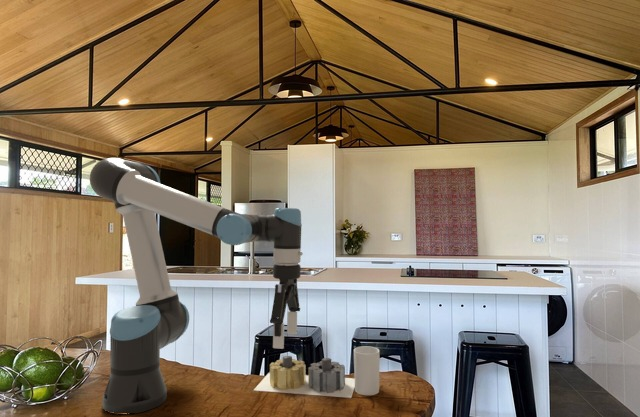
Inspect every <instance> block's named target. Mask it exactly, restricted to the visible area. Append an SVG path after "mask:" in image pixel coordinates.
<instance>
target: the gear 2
mask: <svg viewBox="0 0 640 417" xmlns="http://www.w3.org/2000/svg"><path fill="white" fill-rule="evenodd" d="M307 370H308V372H307V373H308V374H307V375H308V382H309V388H313V389H314V391H316V392H319V393H320V392H321V391H322V392H327V393H334V391H337V390H340V391H341V390H342V389H344V385H345V378H346V366H345V364H340V362H338V361H331V370H322V360H321V361H319V362H313V363H310V365H309V367H308V368H307Z"/></svg>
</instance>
